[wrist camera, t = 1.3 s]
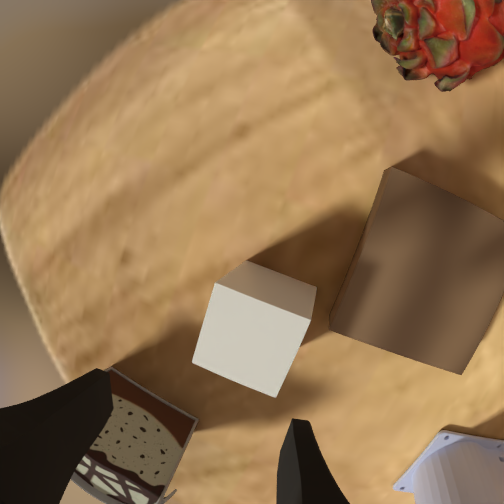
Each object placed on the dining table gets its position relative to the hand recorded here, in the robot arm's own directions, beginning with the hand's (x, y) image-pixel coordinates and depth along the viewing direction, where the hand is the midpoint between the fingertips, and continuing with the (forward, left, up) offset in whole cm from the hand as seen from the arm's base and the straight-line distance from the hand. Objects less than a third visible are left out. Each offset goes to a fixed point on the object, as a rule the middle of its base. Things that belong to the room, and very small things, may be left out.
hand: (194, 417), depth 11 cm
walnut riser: (-9, -7, -12) cm, 17 cm away
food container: (+7, +14, -12) cm, 20 cm away
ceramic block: (0, -1, -12) cm, 12 cm away
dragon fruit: (-5, -23, -12) cm, 26 cm away
